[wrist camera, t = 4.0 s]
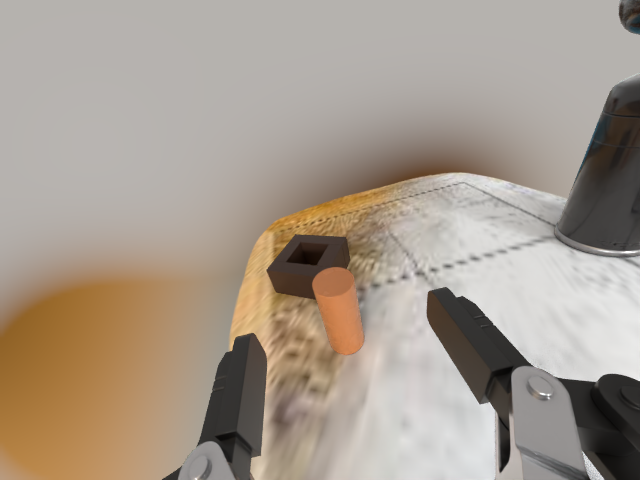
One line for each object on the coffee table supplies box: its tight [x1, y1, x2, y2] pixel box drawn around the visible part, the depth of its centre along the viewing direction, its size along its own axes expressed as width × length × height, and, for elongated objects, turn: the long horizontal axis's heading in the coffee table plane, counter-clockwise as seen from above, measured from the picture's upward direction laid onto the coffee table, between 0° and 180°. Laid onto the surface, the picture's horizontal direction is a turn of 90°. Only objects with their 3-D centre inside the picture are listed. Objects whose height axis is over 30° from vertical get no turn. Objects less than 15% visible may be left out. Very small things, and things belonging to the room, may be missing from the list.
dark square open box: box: [267, 234, 350, 299], centre depth 40 cm, size 10×10×5 cm
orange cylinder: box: [312, 267, 364, 355], centre depth 27 cm, size 4×4×10 cm
